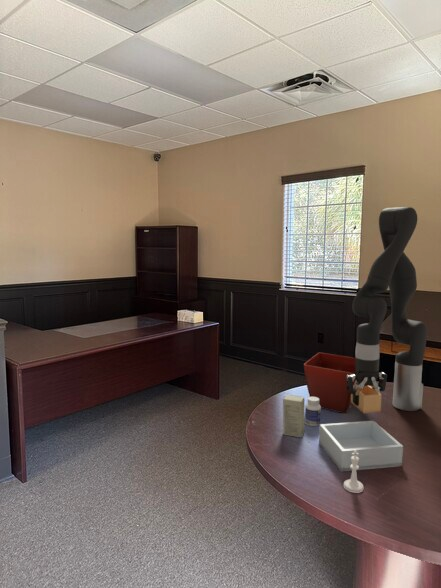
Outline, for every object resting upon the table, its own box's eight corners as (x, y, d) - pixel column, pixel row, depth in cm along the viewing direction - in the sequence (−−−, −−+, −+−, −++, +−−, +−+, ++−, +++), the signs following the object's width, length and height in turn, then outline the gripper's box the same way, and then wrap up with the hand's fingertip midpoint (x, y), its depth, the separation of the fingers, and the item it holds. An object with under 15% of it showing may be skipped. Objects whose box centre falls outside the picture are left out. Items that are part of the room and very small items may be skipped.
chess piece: (340, 481, 108) (342, 446, 107) (358, 481, 109) (360, 445, 107) (347, 493, 104) (349, 456, 102) (366, 492, 104) (369, 455, 103)
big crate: (372, 438, 131) (373, 420, 131) (401, 466, 116) (403, 446, 115) (318, 442, 129) (319, 424, 128) (341, 471, 113) (342, 451, 112)
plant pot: (365, 400, 161) (367, 359, 158) (353, 419, 145) (355, 373, 142) (317, 391, 171) (318, 351, 168) (301, 407, 154) (302, 364, 152)
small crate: (366, 400, 144) (367, 384, 143) (380, 411, 135) (381, 394, 134) (350, 402, 143) (351, 385, 142) (363, 413, 134) (364, 396, 133)
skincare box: (304, 432, 135) (305, 397, 134) (301, 438, 131) (302, 401, 130) (285, 428, 138) (286, 393, 136) (281, 434, 134) (282, 398, 132)
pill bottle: (320, 427, 139) (321, 402, 138) (304, 426, 140) (305, 401, 139) (320, 420, 144) (321, 396, 143) (304, 419, 145) (305, 395, 144)
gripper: (381, 351, 140) (379, 397, 143) (341, 353, 138) (340, 401, 141) (393, 357, 133) (391, 406, 136) (352, 360, 131) (350, 410, 134)
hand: (365, 403), depth 138 cm, fingers closed on small crate, 6 cm apart
